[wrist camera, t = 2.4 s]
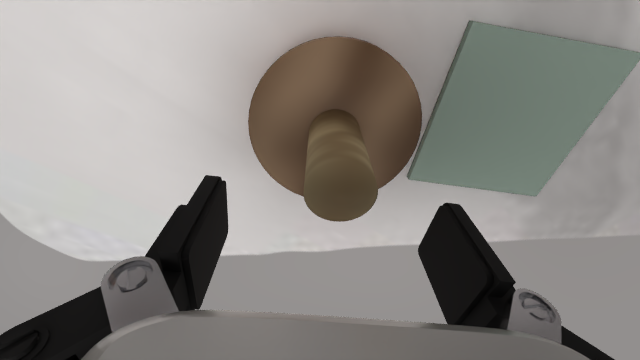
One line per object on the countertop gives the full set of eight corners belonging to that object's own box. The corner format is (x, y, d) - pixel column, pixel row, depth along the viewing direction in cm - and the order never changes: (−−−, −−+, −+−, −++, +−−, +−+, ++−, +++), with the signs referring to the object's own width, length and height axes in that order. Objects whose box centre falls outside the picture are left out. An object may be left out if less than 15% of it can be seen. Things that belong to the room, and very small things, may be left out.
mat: (636, 52, 21) (644, 53, 21) (532, 193, 29) (536, 196, 28) (469, 20, 20) (473, 21, 19) (407, 176, 28) (408, 179, 27)
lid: (446, 54, 17) (526, 88, 10) (389, 203, 23) (415, 281, 17) (251, 20, 16) (202, 33, 9) (250, 185, 22) (221, 261, 16)
